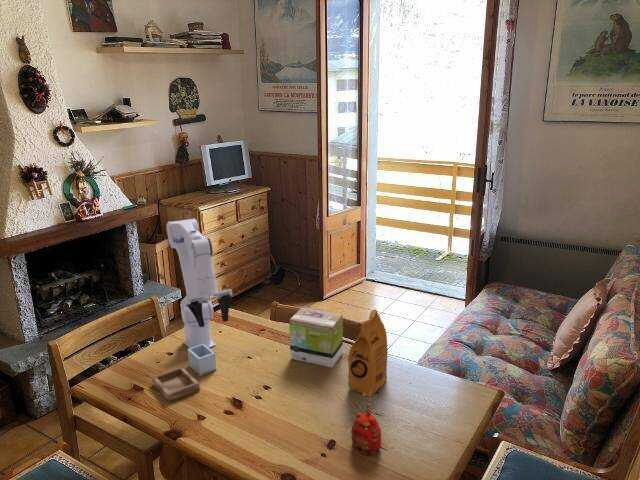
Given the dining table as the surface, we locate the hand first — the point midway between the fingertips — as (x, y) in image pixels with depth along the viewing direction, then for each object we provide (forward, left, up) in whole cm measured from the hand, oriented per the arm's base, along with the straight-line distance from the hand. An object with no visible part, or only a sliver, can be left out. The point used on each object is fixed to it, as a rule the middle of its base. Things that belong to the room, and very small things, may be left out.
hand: (213, 324), depth 154 cm
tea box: (+9, +31, -19) cm, 37 cm away
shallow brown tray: (-4, -12, -18) cm, 22 cm away
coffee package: (+31, +33, -19) cm, 49 cm away
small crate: (-9, -1, -18) cm, 20 cm away
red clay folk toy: (+51, +14, -19) cm, 56 cm away
